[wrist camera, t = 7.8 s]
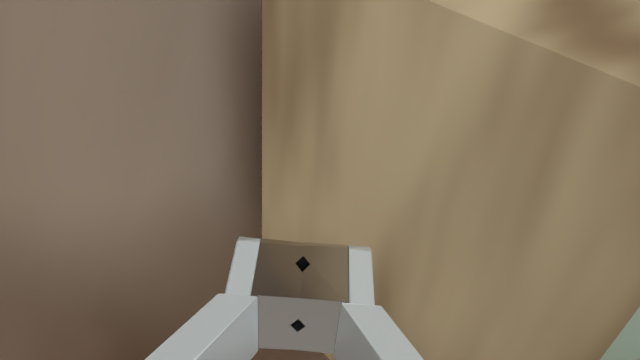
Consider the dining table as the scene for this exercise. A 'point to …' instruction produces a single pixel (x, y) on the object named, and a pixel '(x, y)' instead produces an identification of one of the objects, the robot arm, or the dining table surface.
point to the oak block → (466, 164)
